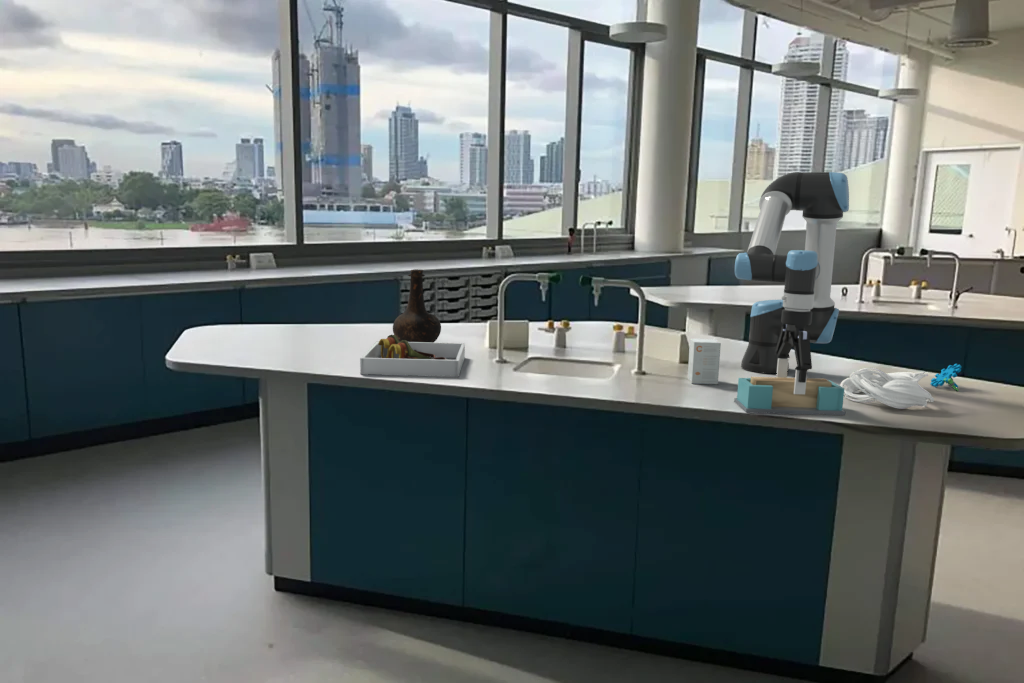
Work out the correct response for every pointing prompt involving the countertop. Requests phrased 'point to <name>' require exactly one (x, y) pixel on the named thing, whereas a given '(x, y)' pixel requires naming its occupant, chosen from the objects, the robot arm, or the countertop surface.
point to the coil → (887, 388)
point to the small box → (704, 361)
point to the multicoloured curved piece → (402, 350)
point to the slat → (792, 391)
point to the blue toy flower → (947, 376)
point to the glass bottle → (416, 315)
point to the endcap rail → (761, 400)
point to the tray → (416, 361)
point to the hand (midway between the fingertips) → (789, 387)
